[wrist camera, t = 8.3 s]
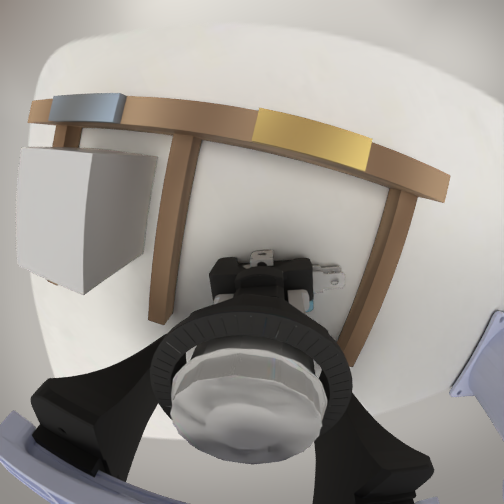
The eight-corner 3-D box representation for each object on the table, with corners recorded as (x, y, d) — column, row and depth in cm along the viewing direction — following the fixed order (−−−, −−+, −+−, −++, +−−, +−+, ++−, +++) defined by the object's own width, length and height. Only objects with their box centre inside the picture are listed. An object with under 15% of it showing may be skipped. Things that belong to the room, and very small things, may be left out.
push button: (337, 222, 14) (436, 316, 4) (337, 314, 15) (386, 463, 6) (209, 232, 15) (105, 333, 5) (222, 321, 16) (170, 468, 7)
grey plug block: (158, 157, 14) (92, 153, 8) (143, 253, 15) (83, 295, 10) (94, 148, 14) (21, 147, 8) (84, 235, 16) (17, 265, 10)
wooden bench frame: (410, 172, 13) (458, 176, 8) (347, 352, 16) (364, 403, 12) (75, 109, 13) (24, 99, 9) (60, 273, 16) (17, 299, 12)
